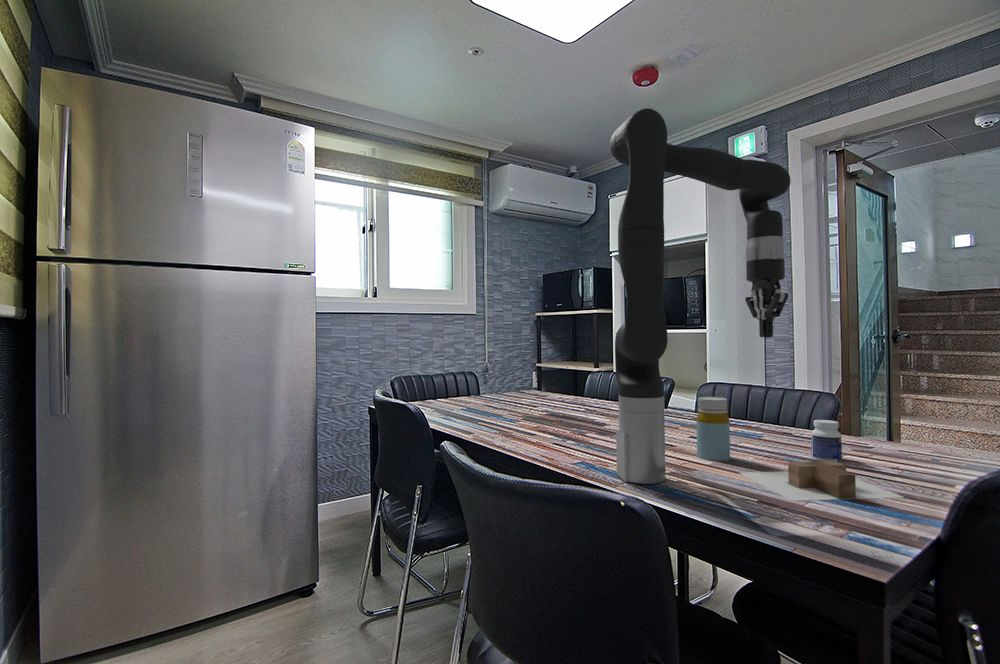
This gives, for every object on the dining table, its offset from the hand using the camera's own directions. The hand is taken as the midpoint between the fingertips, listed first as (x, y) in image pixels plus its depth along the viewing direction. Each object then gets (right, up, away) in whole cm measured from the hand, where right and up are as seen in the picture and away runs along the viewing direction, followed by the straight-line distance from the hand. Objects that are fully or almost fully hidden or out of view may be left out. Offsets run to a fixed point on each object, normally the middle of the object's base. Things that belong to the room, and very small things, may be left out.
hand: (766, 337), depth 109 cm
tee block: (0, -27, -20) cm, 34 cm away
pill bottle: (+14, -29, +1) cm, 32 cm away
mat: (0, -29, -17) cm, 33 cm away
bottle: (-10, -29, +4) cm, 31 cm away
